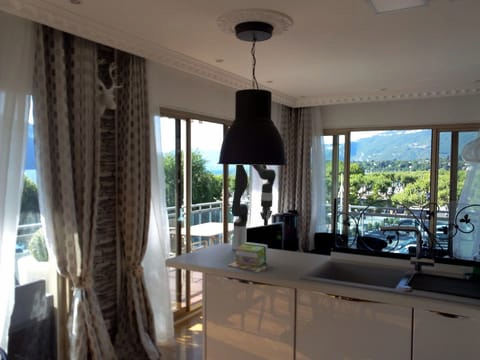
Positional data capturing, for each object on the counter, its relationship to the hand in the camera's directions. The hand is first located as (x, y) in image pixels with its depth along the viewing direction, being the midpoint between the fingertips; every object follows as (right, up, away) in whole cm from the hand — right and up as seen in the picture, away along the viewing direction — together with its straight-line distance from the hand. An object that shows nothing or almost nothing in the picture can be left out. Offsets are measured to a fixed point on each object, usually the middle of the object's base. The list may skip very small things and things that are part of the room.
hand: (265, 225), depth 264 cm
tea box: (-6, -14, -12) cm, 20 cm away
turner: (-3, -23, -28) cm, 36 cm away
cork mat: (-12, -22, -21) cm, 33 cm away
